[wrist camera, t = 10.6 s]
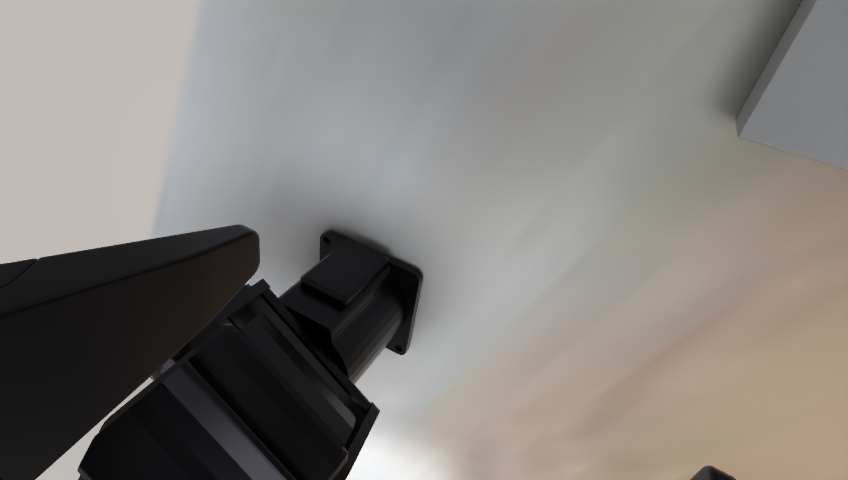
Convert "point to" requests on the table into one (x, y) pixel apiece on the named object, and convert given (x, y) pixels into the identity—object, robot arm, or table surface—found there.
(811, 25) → the plinth
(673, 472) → the table surface
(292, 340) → the robot arm
